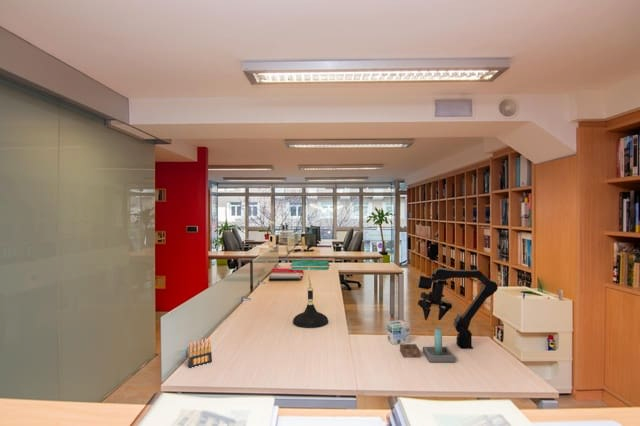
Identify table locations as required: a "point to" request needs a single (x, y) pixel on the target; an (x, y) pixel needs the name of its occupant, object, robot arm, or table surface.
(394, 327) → the light bulb box
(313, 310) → the banker's lamp
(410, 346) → the socket block
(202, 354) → the ammunition clip
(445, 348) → the tray
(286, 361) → the table surface
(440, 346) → the dowel
